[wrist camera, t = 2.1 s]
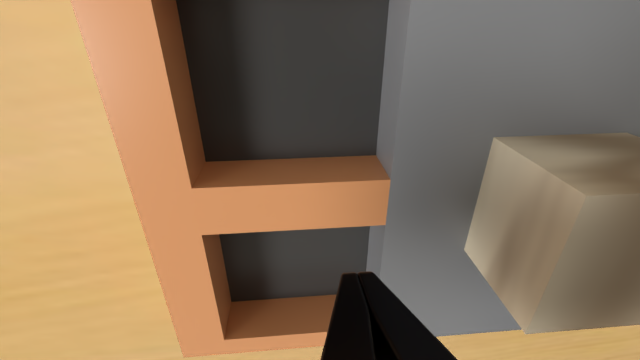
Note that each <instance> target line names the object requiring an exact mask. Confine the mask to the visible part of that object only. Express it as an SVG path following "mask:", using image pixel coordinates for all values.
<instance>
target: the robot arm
mask: <svg viewBox="0 0 640 360" xmlns="http://www.w3.org/2000/svg"><path fill="white" fill-rule="evenodd" d="M321 360H457V359H456V358H455V357H454V356H453V355H452V354H451V353H450V351H449V350H448V349H447V348H446V347H445V346H444V345H443V344H442V343H441V342H440V341H439V340H438V339H437V338H436V337H435V336H434V335H433V334H432V333H431V332H430V331H429V330H428V329H427V328H426V327H425V325H424V324H423V323H422V322H421V321H420V320H419V319H418V318H417V317H416V316H415V315H414V314H413V313H412V312H411V311H410V310H409V309H408V308H407V307H406V306H405V305H404V304H403V303H402V302H401V300H400V299H399V298H398V297H397V296H396V295H395V294H394V293H393V292H392V291H391V290H390V289H389V288H388V287H387V286H386V285H385V284H384V283H383V282H382V281H381V280H380V279H379V278H378V277H377V276H376V274H375V273H373V272H371V271H366V272H359V273H355V272H351V273H342V275H341V278H340V282H339V286H338V290H337V294H336V299H335V303H334V307H333V311H332V315H331V319H330V323H329V328H328V332H327V336H326V340H325V344H324V348H323V352H322V356H321Z"/></svg>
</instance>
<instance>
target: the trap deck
mask: <svg viewBox="0 0 640 360" xmlns="http://www.w3.org/2000/svg"><path fill="white" fill-rule="evenodd" d="M71 3H72V6H73V10H74V13H75V16H76V19H77V22H78V25H79V29H80V32H81V35H82V38H83V41H84V44H85V47H86V51H87V54H88V57H89V60H90V63H91V66H92V70H93V73H94V76H95V79H96V82H97V85H98V88H99V92H100V95H101V98H102V101H103V104H104V107H105V111H106V114H107V117H108V120H109V123H110V126H111V129H112V133H113V136H114V139H115V142H116V145H117V148H118V151H119V155H120V158H121V161H122V164H123V167H124V170H125V174H126V177H127V180H128V183H129V186H130V189H131V192H132V196H133V199H134V202H135V205H136V208H137V211H138V215H139V218H140V221H141V224H142V227H143V230H144V233H145V237H146V240H147V243H148V246H149V249H150V252H151V255H152V259H153V262H154V265H155V268H156V271H157V274H158V278H159V281H160V284H161V287H162V290H163V293H164V296H165V300H166V303H167V306H168V309H169V312H170V315H171V319H172V322H173V325H174V328H175V331H176V334H177V337H178V341H179V344H180V347H181V350H182V353H183V356H184V357H194V356H206V355H218V354H230V353H242V352H254V351H267V350H279V349H291V348H303V347H315V346H324V344H325V340H326V336H327V332H328V328H329V323H330V319H331V315H332V311H333V307H334V303H335V299H336V294H337V290H338V286H339V282H340V278H341V275H342V273H351V272H355V273H359V272H366V271H371V272H373V273H375V274H376V276H377V277H378V278H379V279H380V280H381V281H382V282H383V283H384V284H385V285H386V286H387V287H388V288H389V289H390V290H391V291H392V292H393V293H394V294H395V295H396V296H397V297H398V298H399V299H400V300H401V302H402V303H403V304H404V305H405V306H406V307H407V308H408V309H409V310H410V311H411V312H412V313H413V314H414V315H415V316H416V317H417V318H418V319H419V320H420V321H421V322H422V323H423V324H424V325H425V327H426V328H427V329H428V330H429V331H430V332H431V333H432V334H433V335H434V336H435V337H437V336H449V335H461V334H473V333H485V332H497V331H509V330H521V327H520V326H519V325H518V323H517V322H516V321H515V319H514V318H513V316H512V315H511V314H510V312H509V311H508V310H507V308H506V307H505V305H504V304H503V303H502V301H501V300H500V299H499V297H498V296H497V294H496V293H495V292H494V290H493V289H492V288H491V286H490V285H489V283H488V282H487V281H486V279H485V278H484V277H483V275H482V274H481V272H480V271H479V270H478V268H477V267H476V266H475V264H474V263H473V261H472V260H471V259H470V257H469V256H468V255H467V253H466V252H465V250H464V248H465V244H466V241H467V237H468V233H469V229H470V225H471V222H472V218H473V214H474V210H475V206H476V203H477V199H478V195H479V191H480V187H481V183H482V180H483V176H484V172H485V168H486V164H487V161H488V157H489V153H490V149H491V145H492V142H493V138H494V137H515V136H543V135H572V134H601V133H629V134H632V135H635V136H637V137H640V0H71Z"/></svg>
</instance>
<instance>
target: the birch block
mask: <svg viewBox="0 0 640 360" xmlns="http://www.w3.org/2000/svg"><path fill="white" fill-rule="evenodd" d="M464 250H465V252H466V253H467V255H468V256H469V257H470V259H471V260H472V261H473V263H474V264H475V266H476V267H477V268H478V270H479V271H480V272H481V274H482V275H483V277H484V278H485V279H486V281H487V282H488V283H489V285H490V286H491V288H492V289H493V290H494V292H495V293H496V294H497V296H498V297H499V299H500V300H501V301H502V303H503V304H504V305H505V307H506V308H507V310H508V311H509V312H510V314H511V315H512V316H513V318H514V319H515V321H516V322H517V323H518V325H519V326H520V327H521V329H522V330H523V332H524V333H525V334H533V333H545V332H557V331H569V330H581V329H593V328H605V327H617V326H629V325H640V137H637V136H635V135H632V134H629V133H601V134H572V135H543V136H515V137H494V138H493V142H492V145H491V149H490V153H489V157H488V161H487V164H486V168H485V172H484V176H483V180H482V183H481V187H480V191H479V195H478V199H477V203H476V206H475V210H474V214H473V218H472V222H471V225H470V229H469V233H468V237H467V241H466V244H465V248H464Z"/></svg>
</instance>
